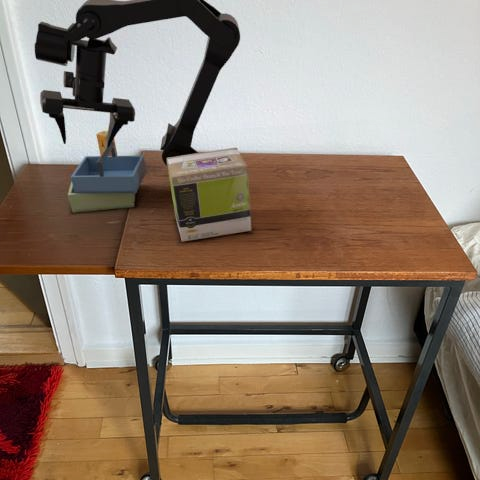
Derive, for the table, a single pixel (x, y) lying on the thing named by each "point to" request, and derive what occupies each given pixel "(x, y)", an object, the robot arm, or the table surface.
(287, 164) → the table surface
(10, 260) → the table surface
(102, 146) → the supplement box
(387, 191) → the table surface
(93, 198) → the sage basket
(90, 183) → the blue basket
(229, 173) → the tea box
